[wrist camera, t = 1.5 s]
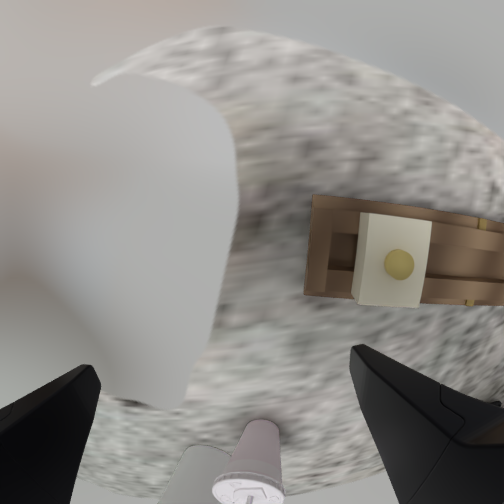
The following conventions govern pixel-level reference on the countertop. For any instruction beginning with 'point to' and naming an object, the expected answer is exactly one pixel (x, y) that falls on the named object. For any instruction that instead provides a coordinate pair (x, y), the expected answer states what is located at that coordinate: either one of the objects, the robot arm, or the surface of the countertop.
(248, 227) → the countertop surface
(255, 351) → the countertop surface
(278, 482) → the smoothie
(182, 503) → the cylindrical container
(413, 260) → the block
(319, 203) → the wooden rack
